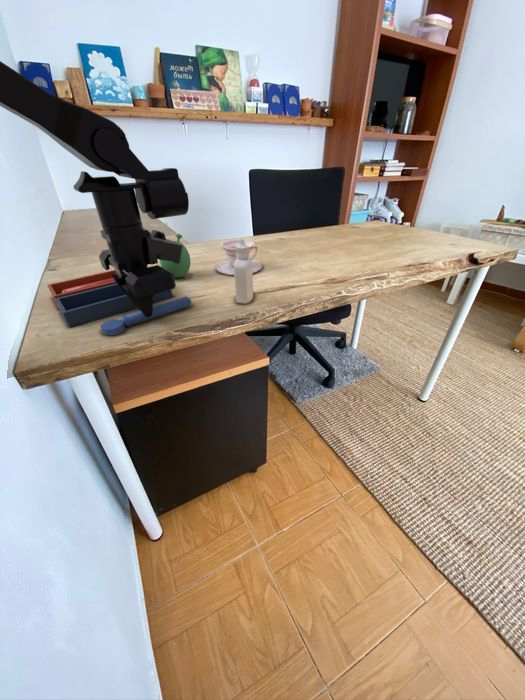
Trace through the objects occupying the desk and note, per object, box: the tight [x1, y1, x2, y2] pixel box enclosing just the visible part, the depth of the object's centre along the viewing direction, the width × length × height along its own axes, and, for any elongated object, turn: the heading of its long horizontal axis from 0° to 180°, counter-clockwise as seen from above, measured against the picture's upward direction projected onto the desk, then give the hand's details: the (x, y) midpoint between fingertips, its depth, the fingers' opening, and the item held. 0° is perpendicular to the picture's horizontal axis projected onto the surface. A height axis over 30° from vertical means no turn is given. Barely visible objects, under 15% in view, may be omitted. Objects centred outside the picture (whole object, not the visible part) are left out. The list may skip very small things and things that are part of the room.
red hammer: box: [61, 278, 115, 294], centre depth 64 cm, size 17×4×2 cm, turn 129°
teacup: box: [215, 239, 263, 276], centre depth 75 cm, size 12×12×6 cm
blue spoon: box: [100, 296, 192, 336], centre depth 54 cm, size 17×4×2 cm, turn 129°
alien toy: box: [159, 233, 191, 279], centre depth 69 cm, size 7×8×10 cm
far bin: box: [46, 269, 117, 309], centre depth 64 cm, size 20×8×3 cm, turn 129°
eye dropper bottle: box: [233, 237, 254, 305], centre depth 58 cm, size 4×6×12 cm
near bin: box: [54, 284, 174, 328], centre depth 59 cm, size 20×8×3 cm, turn 129°
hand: (146, 314), depth 54 cm, fingers closed on blue spoon, 2 cm apart
